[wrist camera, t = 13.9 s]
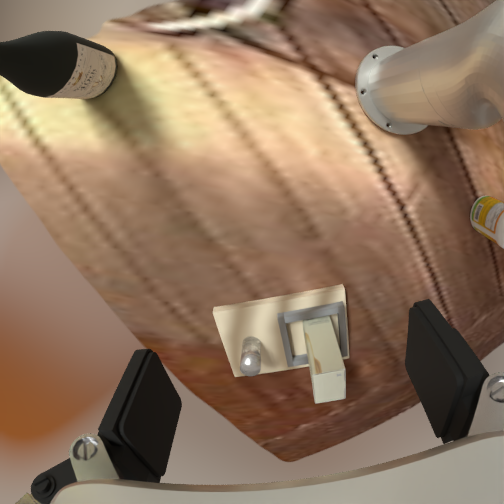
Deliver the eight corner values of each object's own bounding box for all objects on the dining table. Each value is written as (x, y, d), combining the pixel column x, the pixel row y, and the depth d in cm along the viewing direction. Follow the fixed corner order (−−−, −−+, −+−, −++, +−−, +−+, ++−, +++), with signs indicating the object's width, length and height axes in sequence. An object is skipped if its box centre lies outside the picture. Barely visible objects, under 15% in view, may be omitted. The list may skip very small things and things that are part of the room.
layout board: (342, 284, 47) (347, 294, 44) (347, 352, 52) (351, 363, 49) (213, 307, 49) (211, 318, 46) (235, 371, 54) (234, 382, 51)
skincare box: (301, 317, 48) (311, 373, 36) (329, 312, 47) (346, 367, 36) (305, 349, 50) (314, 405, 39) (331, 344, 49) (346, 399, 38)
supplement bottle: (498, 221, 42) (539, 246, 31) (473, 237, 43) (512, 266, 33) (491, 188, 40) (535, 208, 29) (465, 204, 41) (508, 228, 31)
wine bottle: (130, 62, 35) (-41, 15, 7) (98, 109, 38) (-83, 125, 10) (93, 38, 33) (-69, -6, 6) (64, 83, 36) (-106, 85, 8)
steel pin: (258, 335, 49) (258, 360, 43) (262, 349, 50) (262, 374, 45) (240, 337, 49) (237, 363, 44) (244, 351, 50) (242, 377, 45)
